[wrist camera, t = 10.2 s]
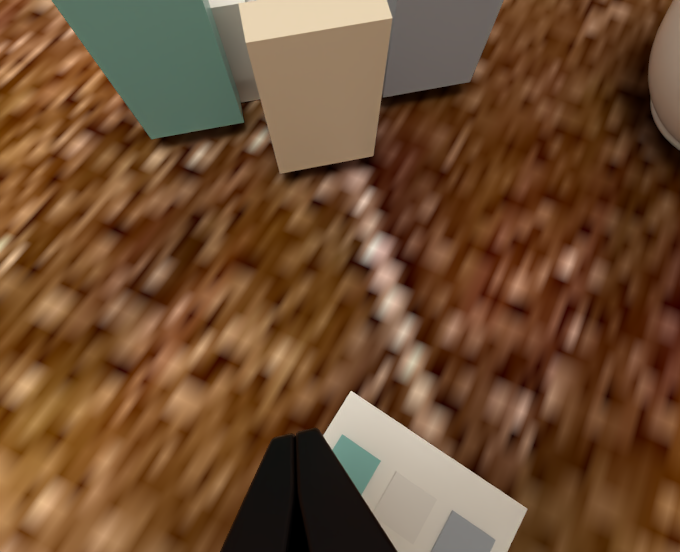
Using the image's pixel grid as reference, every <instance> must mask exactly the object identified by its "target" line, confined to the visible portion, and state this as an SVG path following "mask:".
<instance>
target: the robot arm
mask: <svg viewBox="0 0 680 552" xmlns="http://www.w3.org/2000/svg"><path fill="white" fill-rule="evenodd" d="M220 552H397V550H396V548H395V547H394V545H393V544H392V542H391V541H390V539H389V538H388V536H387V534H386V533H385V531H384V530H383V528H382V527H381V525H380V524H379V522H378V520H377V519H376V517H375V516H374V514H373V513H372V511H371V510H370V508H369V506H368V505H367V503H366V502H365V500H364V499H363V497H362V496H361V494H360V492H359V491H358V489H357V488H356V486H355V485H354V483H353V482H352V480H351V479H350V477H349V475H348V474H347V472H346V471H345V469H344V468H343V466H342V465H341V463H340V461H339V460H338V458H337V457H336V455H335V454H334V452H333V451H332V449H331V447H330V446H329V444H328V443H327V441H326V440H325V438H324V437H323V435H322V433H321V432H320V430H319V429H317V428H312V429H307V430H303V431H299V432H297V433H296V436H295V435H294V434H292V433H291V434H286V435H282V436H278V437H275V438H273V439H272V440H271V442H270V444H269V446H268V448H267V450H266V452H265V455H264V457H263V459H262V461H261V463H260V465H259V468H258V470H257V472H256V474H255V476H254V479H253V481H252V483H251V485H250V487H249V489H248V492H247V494H246V496H245V498H244V500H243V503H242V505H241V507H240V509H239V511H238V513H237V516H236V518H235V520H234V522H233V524H232V527H231V529H230V531H229V533H228V535H227V537H226V540H225V542H224V544H223V546H222V548H221V551H220Z"/></svg>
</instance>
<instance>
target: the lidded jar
mask: <svg viewBox="0 0 680 552" xmlns="http://www.w3.org/2000/svg"><path fill="white" fill-rule="evenodd" d="M648 84H649V90H650V108H651V114H652V117H653V120H654V122H655V124H656V126H657V128H658V129H659V131H660V132H661V134H662V135H663V136H664V137H665V138H666V139H667V141H668V142H669V143H670V144H672V145H673V146H674V147H675V148H676V149H678V150H679V151H680V0H673V2H672V3H671V5H670V7H669V9H668V11H667V13H666V15H665V17H664V19H663V20H662V22H661V25H660V27H659V29H658V31H657V34H656V37H655V39H654V42H653V45H652V49H651V53H650V58H649V67H648Z"/></svg>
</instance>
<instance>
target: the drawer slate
mask: <svg viewBox="0 0 680 552" xmlns="http://www.w3.org/2000/svg"><path fill="white" fill-rule="evenodd" d="M387 2H388V5H389V9H390V12H391V15H392V25H391V32H390V40H389V47H388V54H387V61H386V68H385V76H384V83H383V90H382V96H383V98H384V97H389V96H395V95H400V94H406V93H411V92H417V91H423V90H428V89H434V88H439V87H445V86H450V85H456V84H462V83H467V82H470V81H471V78H472V76H473V74H474V71H475V69H476V66H477V64H478V61H479V59H480V56H481V54H482V52H483V49H484V47H485V44H486V42H487V39H488V37H489V35H490V32H491V30H492V27H493V25H494V22H495V20H496V17H497V15H498V13H499V10H500V8H501V5H502V3H503V0H387Z"/></svg>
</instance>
